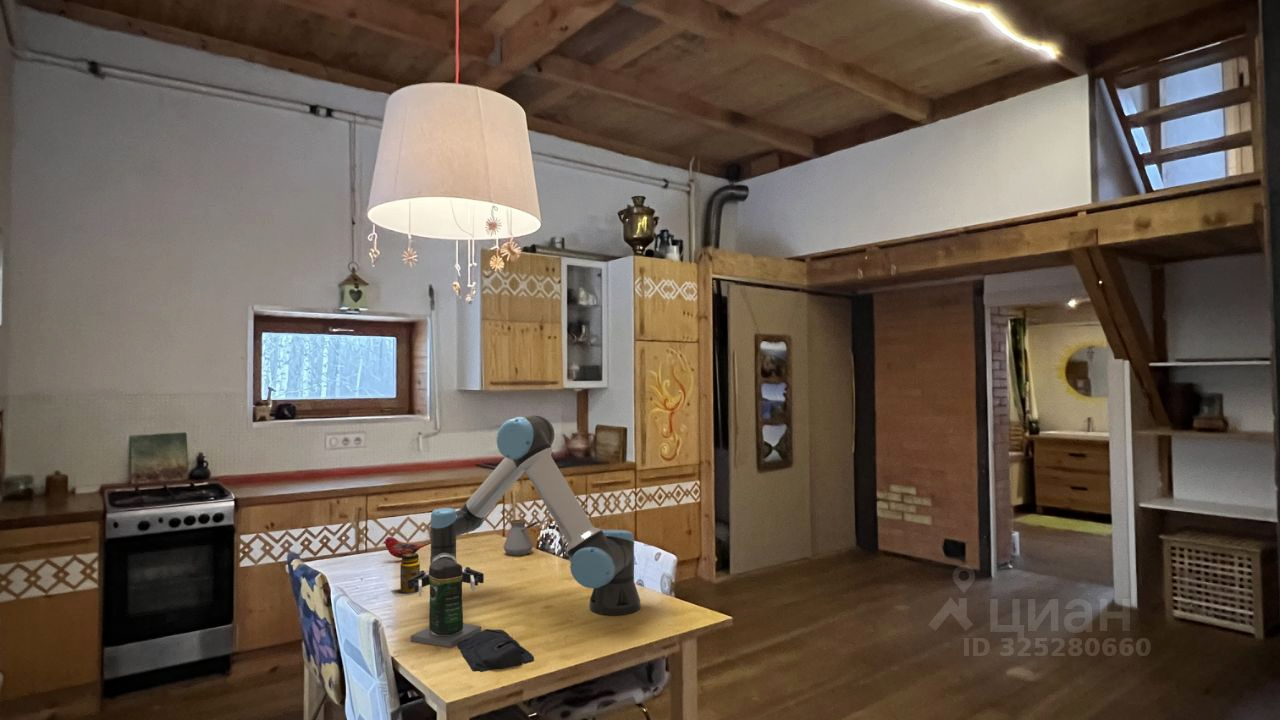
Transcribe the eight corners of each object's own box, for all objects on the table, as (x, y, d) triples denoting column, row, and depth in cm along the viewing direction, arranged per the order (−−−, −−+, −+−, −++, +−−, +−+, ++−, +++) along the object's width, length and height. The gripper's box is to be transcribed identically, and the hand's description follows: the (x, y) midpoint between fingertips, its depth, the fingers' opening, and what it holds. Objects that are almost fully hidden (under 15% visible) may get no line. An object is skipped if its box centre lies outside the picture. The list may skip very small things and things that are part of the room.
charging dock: (481, 631, 200) (481, 626, 200) (451, 647, 188) (451, 641, 188) (442, 625, 205) (442, 620, 205) (410, 641, 193) (410, 635, 193)
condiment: (423, 592, 237) (423, 555, 238) (397, 596, 233) (397, 558, 233) (416, 587, 244) (416, 550, 244) (390, 591, 239) (390, 554, 239)
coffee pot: (498, 553, 289) (497, 515, 290) (523, 548, 297) (523, 511, 297) (526, 563, 273) (526, 523, 273) (552, 558, 280) (552, 519, 281)
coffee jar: (467, 632, 195) (466, 562, 195) (438, 638, 190) (438, 567, 191) (453, 622, 203) (452, 555, 203) (425, 628, 198) (424, 559, 198)
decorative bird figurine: (382, 563, 275) (382, 536, 275) (430, 558, 282) (430, 532, 283) (382, 565, 272) (382, 538, 273) (431, 559, 280) (431, 533, 280)
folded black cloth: (510, 636, 197) (510, 618, 197) (537, 664, 178) (537, 645, 178) (453, 646, 190) (453, 627, 191) (474, 676, 171) (474, 656, 171)
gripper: (487, 578, 217) (494, 598, 197) (399, 585, 210) (397, 607, 190) (487, 552, 218) (494, 570, 197) (399, 559, 210) (397, 578, 190)
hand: (447, 589), depth 194 cm, fingers open, 13 cm apart
